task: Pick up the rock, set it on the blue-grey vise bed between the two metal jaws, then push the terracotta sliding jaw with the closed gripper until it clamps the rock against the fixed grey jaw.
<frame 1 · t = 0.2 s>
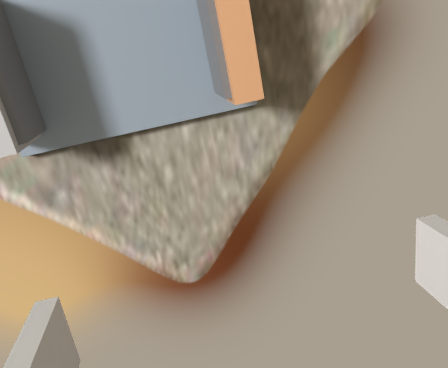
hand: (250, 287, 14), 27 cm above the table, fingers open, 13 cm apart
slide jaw: (224, 26, 33), point 5 cm above the table, slide at 0.0 cm
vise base: (122, 49, 36), on the table
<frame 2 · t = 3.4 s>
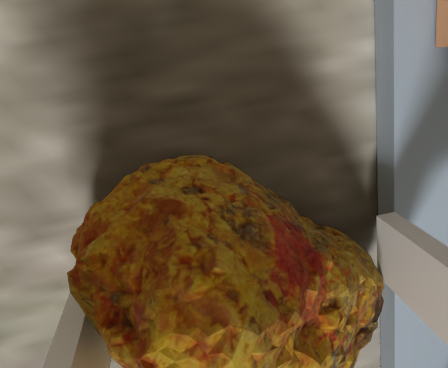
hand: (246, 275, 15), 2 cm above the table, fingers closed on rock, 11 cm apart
rock: (219, 265, 17), on the table, touching gripper
when the fingers open (4 cm above the table, at t = 8.5 s): rock drops 2 cm, resting on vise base.
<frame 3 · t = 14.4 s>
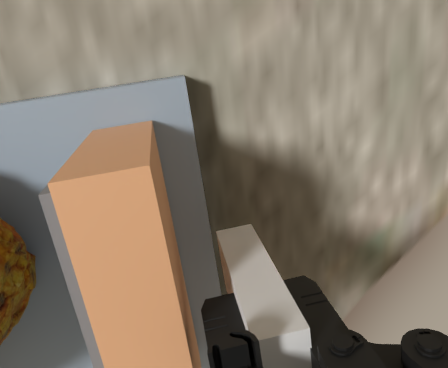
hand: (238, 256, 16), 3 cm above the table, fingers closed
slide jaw: (143, 301, 15), point 5 cm above the table, slide at 0.6 cm, touching gripper
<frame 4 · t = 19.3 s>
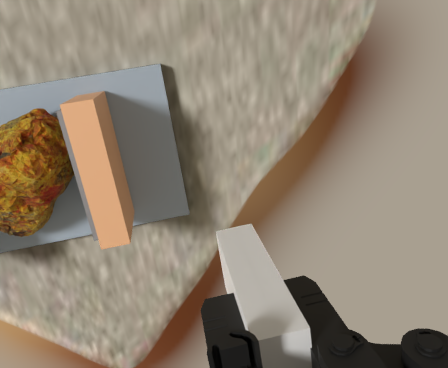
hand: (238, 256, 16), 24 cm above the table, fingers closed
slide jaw: (99, 167, 34), point 5 cm above the table, slide at 4.3 cm
rock: (26, 164, 36), point 1 cm above the table, touching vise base
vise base: (57, 163, 38), on the table
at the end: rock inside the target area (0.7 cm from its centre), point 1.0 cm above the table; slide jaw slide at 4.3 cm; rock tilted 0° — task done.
